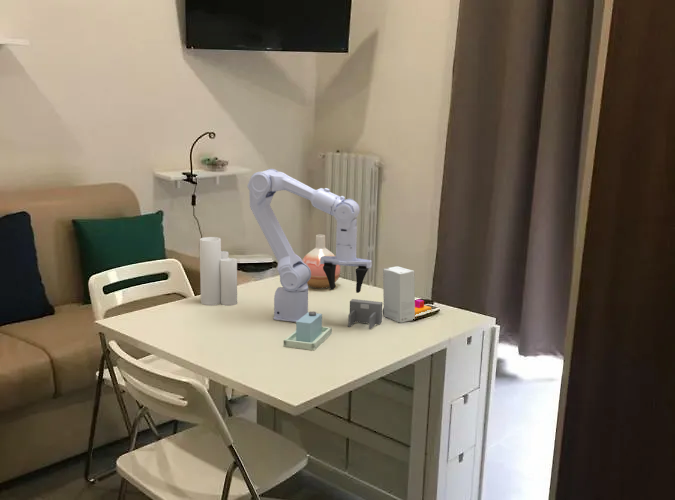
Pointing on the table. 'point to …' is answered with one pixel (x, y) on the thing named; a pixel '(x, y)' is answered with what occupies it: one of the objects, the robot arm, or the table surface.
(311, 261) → the vase
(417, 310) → the orange flat block
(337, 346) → the table surface
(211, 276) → the vase
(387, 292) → the skincare box
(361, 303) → the bay
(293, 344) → the tray
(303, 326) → the tall blue-grey prism
